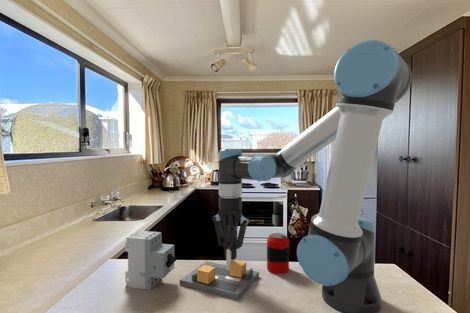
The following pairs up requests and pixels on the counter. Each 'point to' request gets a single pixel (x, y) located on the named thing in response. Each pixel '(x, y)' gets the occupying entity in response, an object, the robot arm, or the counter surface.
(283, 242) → the soda can
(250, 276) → the switch board
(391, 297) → the counter surface
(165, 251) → the circuit breaker
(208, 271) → the tab
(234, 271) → the tab
